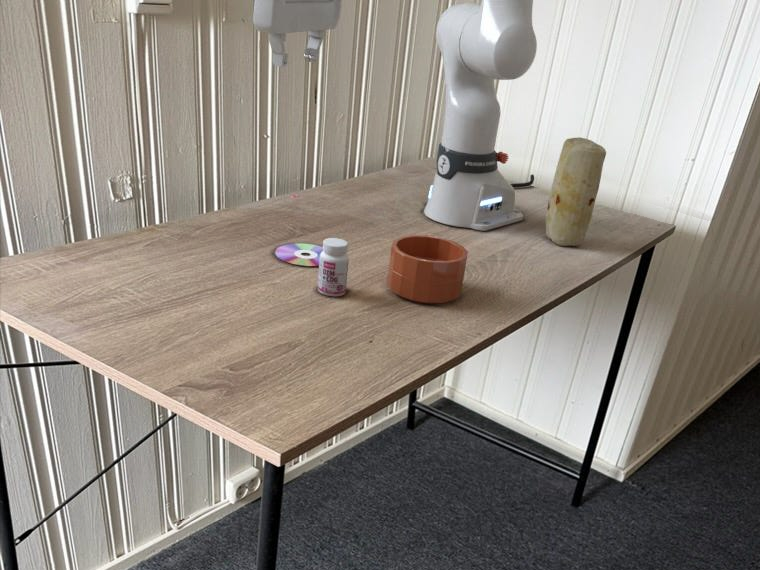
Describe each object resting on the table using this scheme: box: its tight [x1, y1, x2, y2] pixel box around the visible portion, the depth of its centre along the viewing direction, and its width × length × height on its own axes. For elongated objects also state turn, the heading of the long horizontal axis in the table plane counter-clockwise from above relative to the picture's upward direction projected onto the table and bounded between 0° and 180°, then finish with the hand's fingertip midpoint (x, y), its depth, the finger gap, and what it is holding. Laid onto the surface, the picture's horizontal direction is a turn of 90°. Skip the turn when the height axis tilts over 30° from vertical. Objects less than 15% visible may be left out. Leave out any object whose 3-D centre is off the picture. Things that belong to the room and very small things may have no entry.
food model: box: [545, 137, 607, 247], centre depth 167 cm, size 10×7×20 cm
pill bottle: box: [317, 237, 350, 297], centre depth 136 cm, size 5×5×8 cm
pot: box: [386, 234, 469, 304], centre depth 141 cm, size 13×13×8 cm
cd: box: [274, 242, 323, 267], centre depth 151 cm, size 11×11×1 cm
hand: (295, 63), depth 130 cm, fingers open, 8 cm apart
